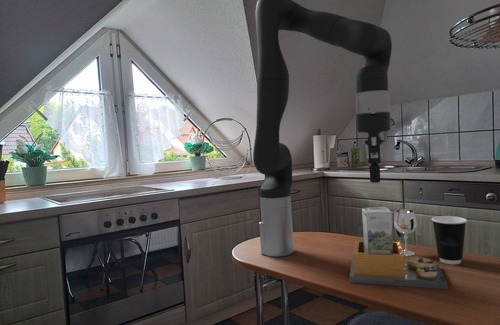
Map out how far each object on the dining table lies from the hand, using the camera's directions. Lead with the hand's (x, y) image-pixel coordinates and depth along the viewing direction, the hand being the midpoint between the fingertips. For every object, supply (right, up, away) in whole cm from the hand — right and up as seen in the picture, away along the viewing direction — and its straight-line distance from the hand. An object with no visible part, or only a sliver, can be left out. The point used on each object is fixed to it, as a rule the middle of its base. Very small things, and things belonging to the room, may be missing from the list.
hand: (375, 180), depth 85 cm
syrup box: (+1, -22, +1) cm, 22 cm away
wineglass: (+14, -22, +15) cm, 30 cm away
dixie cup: (+22, -22, +7) cm, 31 cm away
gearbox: (+5, -23, 0) cm, 23 cm away
